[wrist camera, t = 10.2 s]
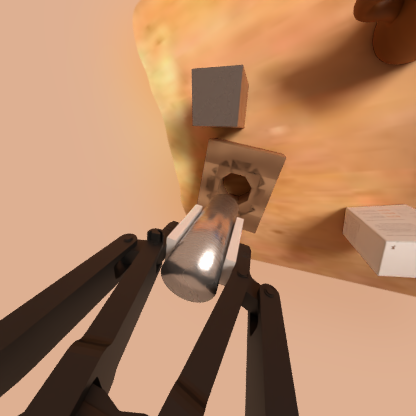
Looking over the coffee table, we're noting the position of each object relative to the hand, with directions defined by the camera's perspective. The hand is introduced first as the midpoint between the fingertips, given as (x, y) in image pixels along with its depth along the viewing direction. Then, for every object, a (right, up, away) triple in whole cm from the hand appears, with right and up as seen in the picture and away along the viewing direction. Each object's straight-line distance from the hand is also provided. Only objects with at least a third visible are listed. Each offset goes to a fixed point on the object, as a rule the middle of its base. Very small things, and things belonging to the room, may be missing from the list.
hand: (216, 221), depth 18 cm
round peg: (+1, +2, +3) cm, 4 cm away
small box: (+27, 0, +10) cm, 29 cm away
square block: (+2, +19, +9) cm, 21 cm away
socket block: (+5, +7, +14) cm, 16 cm away
